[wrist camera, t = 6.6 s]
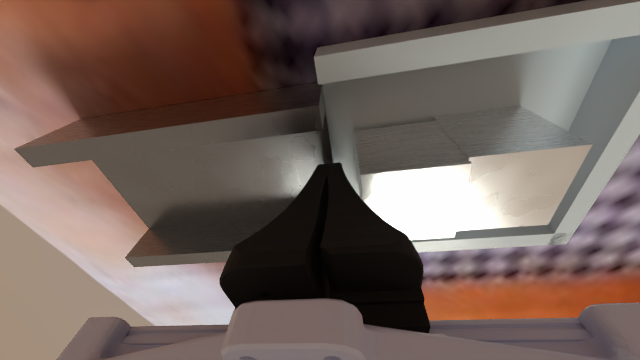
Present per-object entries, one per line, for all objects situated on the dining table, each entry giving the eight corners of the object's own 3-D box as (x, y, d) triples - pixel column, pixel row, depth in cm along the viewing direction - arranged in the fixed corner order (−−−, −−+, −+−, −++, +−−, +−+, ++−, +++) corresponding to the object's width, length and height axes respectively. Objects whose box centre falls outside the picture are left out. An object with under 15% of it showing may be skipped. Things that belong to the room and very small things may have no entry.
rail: (342, 213, 17) (343, 255, 14) (164, 227, 19) (134, 267, 16) (322, 81, 12) (318, 105, 9) (80, 119, 14) (14, 148, 11)
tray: (537, 214, 16) (566, 243, 14) (344, 228, 18) (345, 256, 16) (651, -12, 9) (739, -16, 7) (317, 47, 11) (313, 57, 9)
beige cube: (498, 173, 14) (547, 224, 11) (425, 180, 14) (452, 231, 11) (520, 105, 12) (592, 144, 8) (433, 116, 12) (469, 157, 9)
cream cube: (427, 184, 14) (454, 237, 11) (358, 190, 15) (365, 242, 11) (434, 120, 12) (472, 163, 9) (353, 130, 12) (360, 175, 9)
